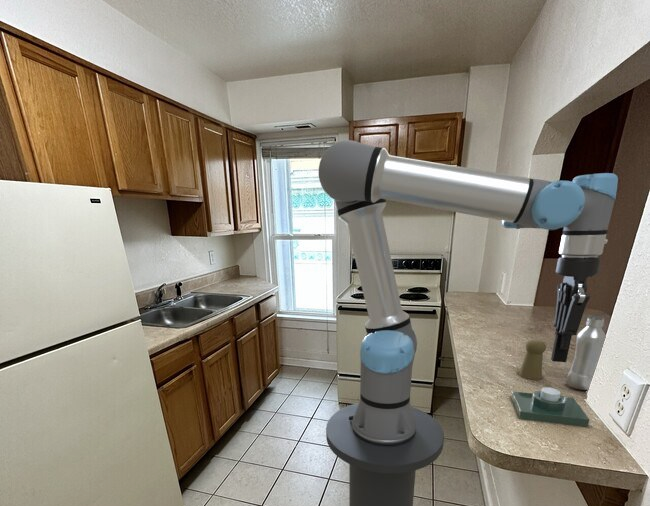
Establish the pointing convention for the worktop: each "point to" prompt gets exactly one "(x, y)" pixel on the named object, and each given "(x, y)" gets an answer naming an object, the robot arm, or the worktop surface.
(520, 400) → the green button base
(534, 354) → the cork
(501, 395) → the worktop surface
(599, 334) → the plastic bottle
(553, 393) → the white push button
